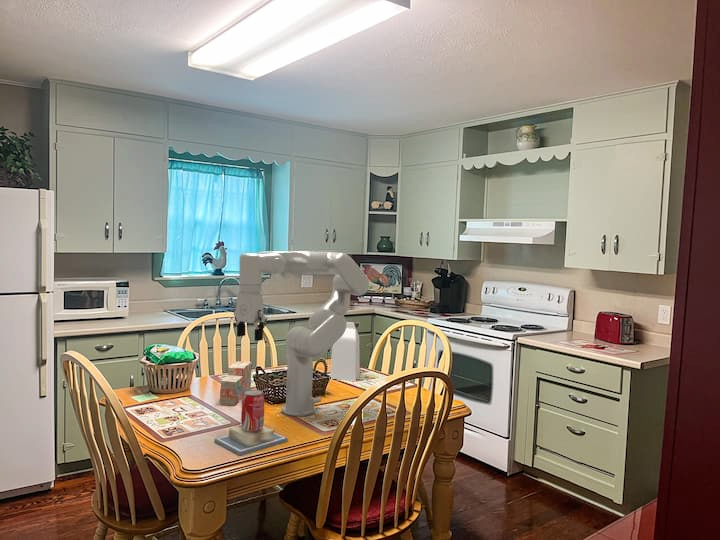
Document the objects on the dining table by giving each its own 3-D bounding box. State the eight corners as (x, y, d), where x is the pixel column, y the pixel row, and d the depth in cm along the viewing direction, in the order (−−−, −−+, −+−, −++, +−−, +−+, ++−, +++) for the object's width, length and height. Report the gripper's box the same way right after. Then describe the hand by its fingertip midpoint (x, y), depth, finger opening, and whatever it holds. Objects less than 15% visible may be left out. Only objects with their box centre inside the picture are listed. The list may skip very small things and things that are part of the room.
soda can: (242, 425, 181) (243, 388, 180) (264, 425, 181) (265, 389, 180) (239, 433, 174) (240, 395, 173) (262, 433, 174) (263, 395, 173)
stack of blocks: (235, 405, 213) (236, 374, 212) (219, 404, 213) (220, 372, 212) (250, 390, 234) (251, 361, 233) (236, 389, 235) (237, 360, 234)
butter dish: (261, 429, 189) (261, 417, 189) (287, 441, 179) (288, 429, 179) (214, 441, 176) (214, 429, 176) (239, 455, 166) (240, 442, 166)
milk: (329, 379, 256) (331, 323, 254) (334, 373, 267) (337, 319, 266) (355, 381, 254) (357, 325, 252) (359, 375, 265) (362, 321, 264)
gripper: (226, 287, 196) (225, 335, 197) (257, 292, 184) (257, 343, 186) (243, 286, 201) (243, 333, 203) (275, 290, 190) (274, 340, 191)
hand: (249, 338), depth 194 cm, fingers open, 9 cm apart
